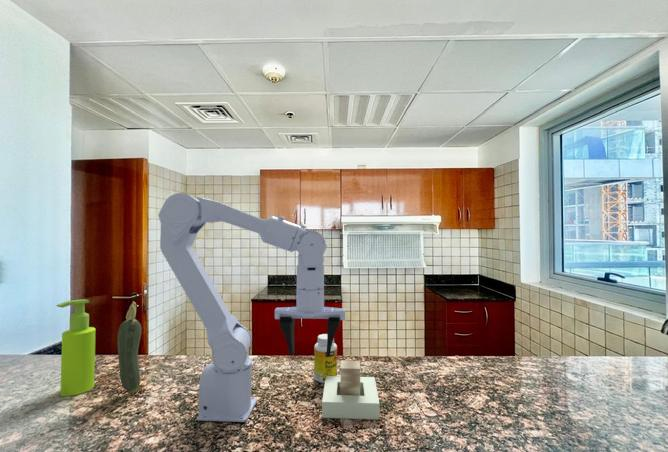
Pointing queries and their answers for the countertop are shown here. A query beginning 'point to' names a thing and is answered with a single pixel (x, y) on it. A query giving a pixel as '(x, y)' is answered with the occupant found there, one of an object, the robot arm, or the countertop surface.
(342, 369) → the peg
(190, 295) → the robot arm
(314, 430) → the countertop surface
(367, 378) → the socket block
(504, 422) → the countertop surface
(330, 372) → the supplement bottle
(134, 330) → the vegetable
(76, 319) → the soap dispenser
